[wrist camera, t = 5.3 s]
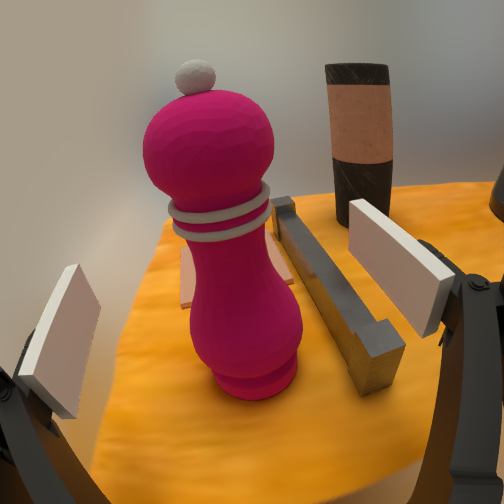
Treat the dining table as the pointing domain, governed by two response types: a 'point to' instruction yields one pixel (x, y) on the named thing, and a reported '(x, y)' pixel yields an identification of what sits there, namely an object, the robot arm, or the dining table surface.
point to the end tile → (190, 274)
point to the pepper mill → (226, 231)
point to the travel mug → (360, 135)
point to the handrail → (339, 304)
